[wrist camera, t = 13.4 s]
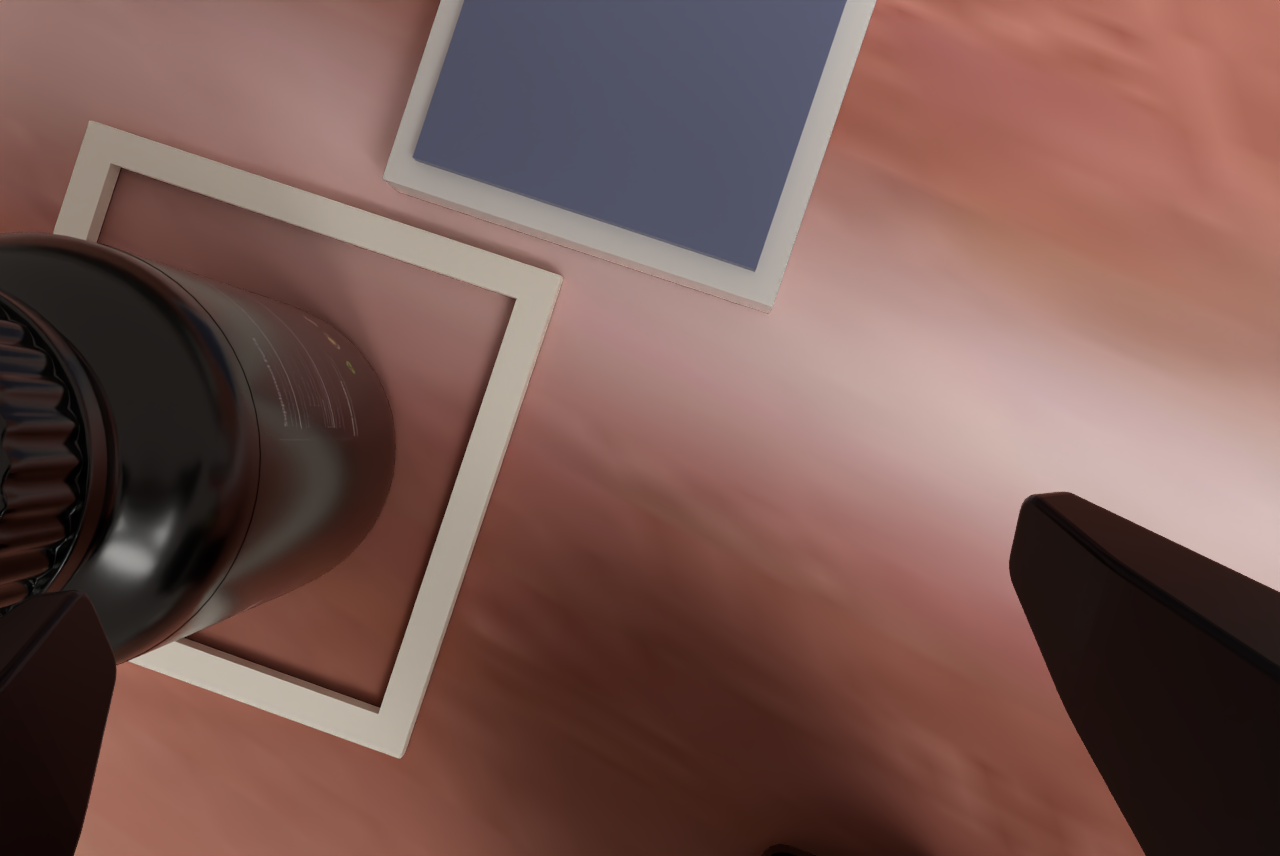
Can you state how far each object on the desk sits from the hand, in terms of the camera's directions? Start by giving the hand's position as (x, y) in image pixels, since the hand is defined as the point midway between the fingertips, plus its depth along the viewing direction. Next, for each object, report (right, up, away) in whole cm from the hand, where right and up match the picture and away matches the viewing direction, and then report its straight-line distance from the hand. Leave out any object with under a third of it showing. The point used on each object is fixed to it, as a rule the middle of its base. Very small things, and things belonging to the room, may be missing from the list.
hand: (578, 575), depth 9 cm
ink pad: (+1, +10, +13) cm, 16 cm away
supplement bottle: (-8, +1, +14) cm, 16 cm away
